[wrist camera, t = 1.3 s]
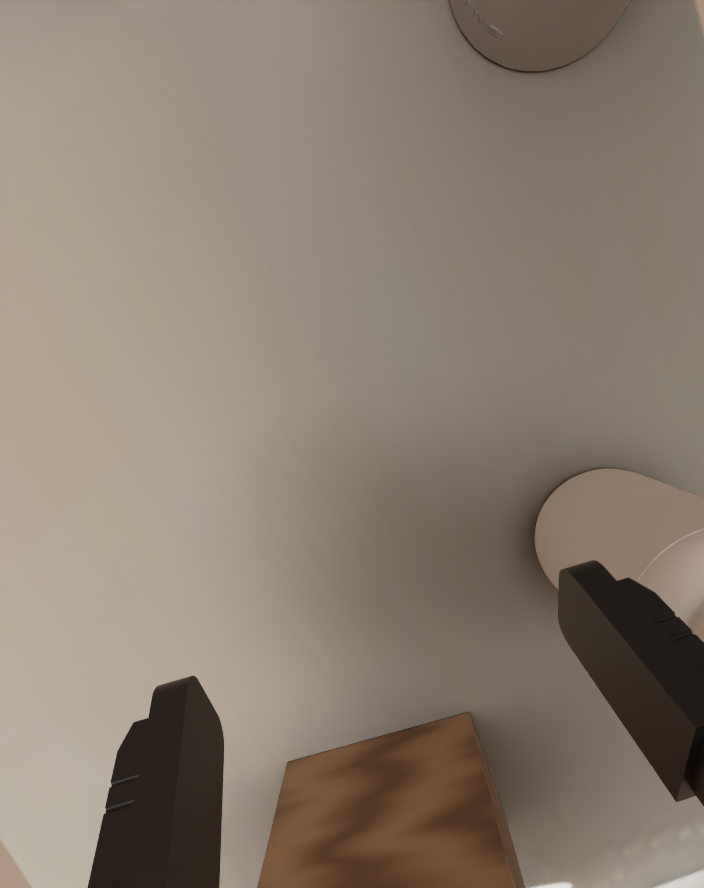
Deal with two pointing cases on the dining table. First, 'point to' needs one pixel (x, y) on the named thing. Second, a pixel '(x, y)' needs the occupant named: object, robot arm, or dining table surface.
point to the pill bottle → (629, 535)
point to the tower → (393, 816)
